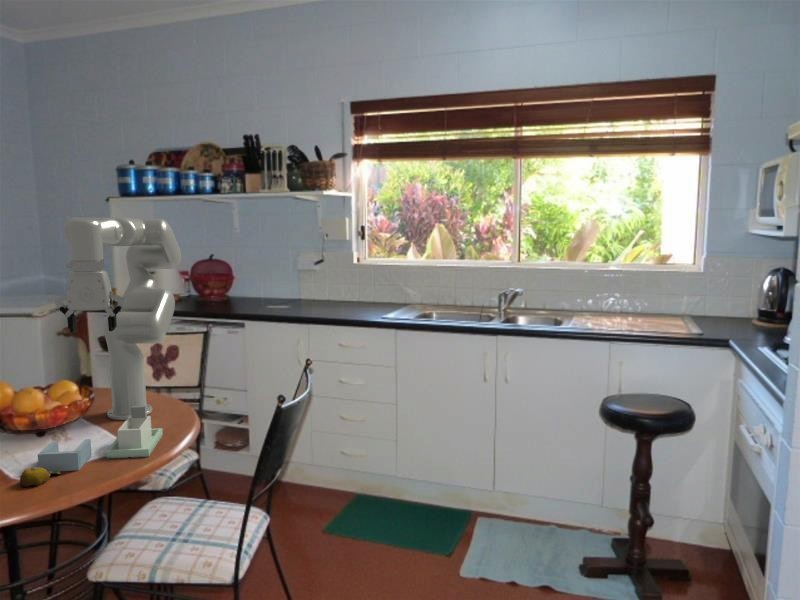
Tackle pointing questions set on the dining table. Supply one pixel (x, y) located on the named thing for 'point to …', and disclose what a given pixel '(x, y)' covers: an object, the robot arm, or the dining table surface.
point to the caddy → (135, 429)
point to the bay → (64, 457)
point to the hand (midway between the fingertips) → (92, 330)
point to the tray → (141, 452)
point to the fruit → (35, 476)
